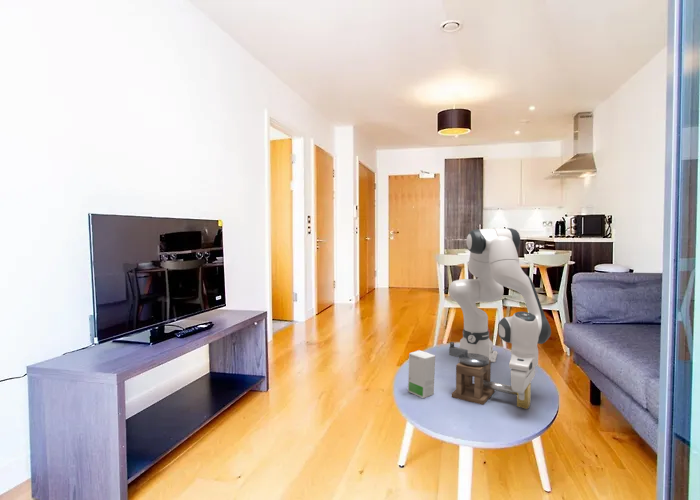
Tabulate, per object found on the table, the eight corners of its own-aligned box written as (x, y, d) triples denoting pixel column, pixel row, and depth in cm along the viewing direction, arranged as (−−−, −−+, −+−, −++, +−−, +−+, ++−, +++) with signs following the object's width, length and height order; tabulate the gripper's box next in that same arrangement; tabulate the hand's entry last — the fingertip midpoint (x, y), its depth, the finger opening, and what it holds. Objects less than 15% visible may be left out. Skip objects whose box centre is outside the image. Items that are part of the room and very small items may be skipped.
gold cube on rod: (476, 391, 156) (476, 371, 156) (530, 404, 145) (530, 382, 144) (472, 395, 153) (472, 375, 152) (527, 409, 141) (528, 386, 141)
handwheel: (493, 361, 154) (494, 347, 154) (480, 368, 146) (480, 353, 146) (457, 352, 165) (457, 339, 165) (442, 359, 157) (442, 345, 157)
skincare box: (407, 392, 158) (407, 352, 157) (418, 387, 162) (418, 349, 161) (424, 399, 151) (424, 358, 150) (435, 394, 155) (435, 354, 154)
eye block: (464, 385, 164) (464, 354, 163) (494, 391, 157) (495, 360, 156) (451, 397, 152) (451, 364, 152) (483, 405, 146) (483, 371, 145)
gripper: (522, 349, 153) (521, 385, 154) (507, 364, 137) (507, 404, 138) (540, 352, 150) (539, 388, 151) (527, 368, 133) (526, 409, 134)
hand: (523, 396), depth 144 cm, fingers closed on gold cube on rod, 4 cm apart
